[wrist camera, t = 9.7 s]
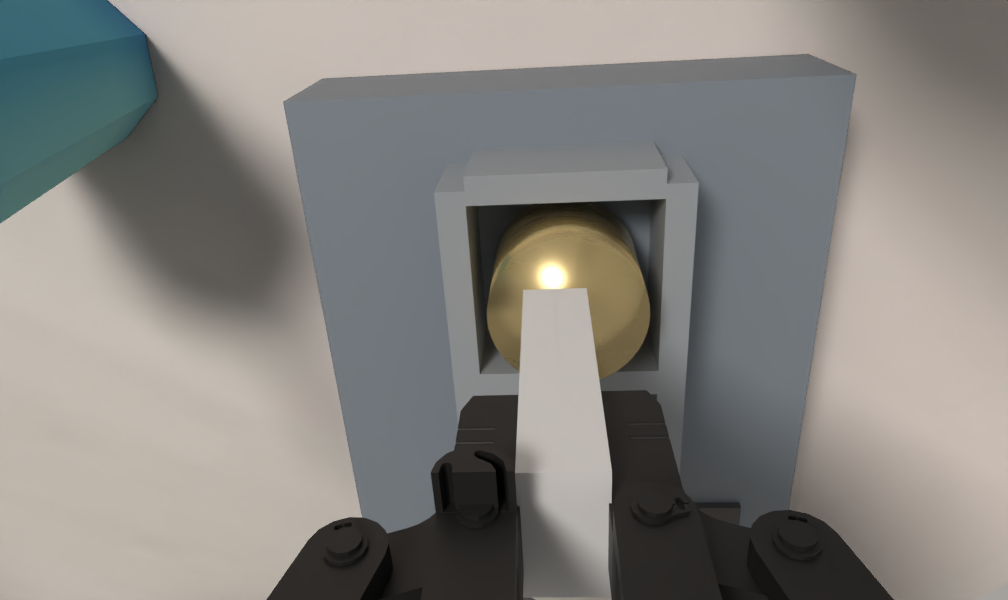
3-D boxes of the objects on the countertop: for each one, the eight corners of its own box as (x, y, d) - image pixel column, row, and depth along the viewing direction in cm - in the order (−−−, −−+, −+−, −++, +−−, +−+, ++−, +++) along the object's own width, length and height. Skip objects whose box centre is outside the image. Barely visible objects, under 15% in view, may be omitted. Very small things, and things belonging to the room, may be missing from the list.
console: (414, 642, 37) (388, 782, 30) (322, 78, 24) (246, 123, 18) (733, 646, 35) (772, 791, 29) (808, 53, 23) (902, 93, 17)
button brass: (499, 325, 23) (492, 387, 19) (491, 198, 21) (480, 243, 18) (633, 322, 22) (647, 384, 19) (637, 193, 20) (653, 238, 17)
